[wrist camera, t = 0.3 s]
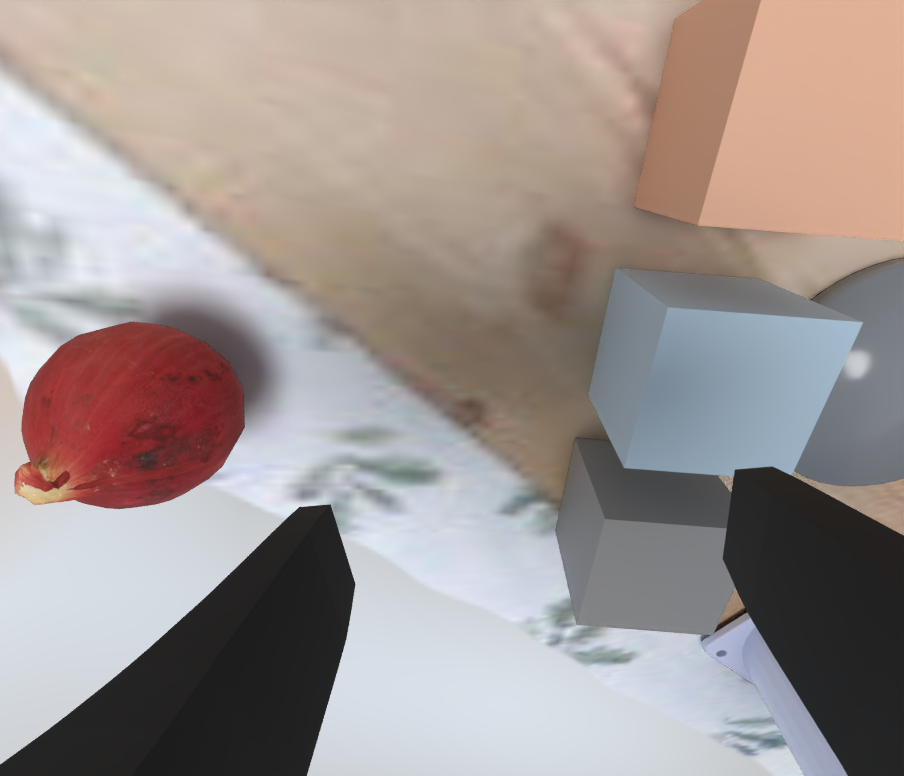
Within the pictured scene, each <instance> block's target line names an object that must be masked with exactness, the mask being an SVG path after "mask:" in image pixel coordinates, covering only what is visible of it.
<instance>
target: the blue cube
mask: <svg viewBox="0 0 904 776" xmlns="http://www.w3.org/2000/svg"><path fill="white" fill-rule="evenodd" d="M862 324H863V322H861V321H859V320H857V319H854V318H852V317H849V316H847V315H845V314H842V313H840V312H837V311H835V310H833V309H830V308H828V307H825V306H823V305H821V304H818V303H816V302H813V301H811V300H809V299H806V298H804V297H801V296H799V295H797V294H794V293H792V292H790V291H787V290H785V289H782V288H780V287H778V286H775V285H773V284H770V283H768V282H766V281H763V280H761V279H758V278H745V277H732V276H719V275H705V274H692V273H679V272H666V271H653V270H639V269H626V268H615V273H614V277H613V282H612V287H611V291H610V296H609V300H608V305H607V310H606V314H605V319H604V323H603V328H602V333H601V337H600V342H599V346H598V351H597V356H596V360H595V365H594V370H593V374H592V379H591V383H590V388H589V393H588V396H589V398H590V400H591V402H592V404H593V406H594V408H595V410H596V412H597V414H598V416H599V418H600V420H601V422H602V424H603V426H604V429H605V431H606V433H607V435H608V437H609V439H610V441H611V443H612V445H613V447H614V449H615V451H616V453H617V455H618V457H619V459H620V461H621V463H622V465H623V467H624V468H631V469H644V470H657V471H670V472H682V473H695V474H708V475H721V476H734V471H735V469H747V468H758V467H770V466H773V467H775V468H777V469H779V470H781V471H783V472H785V473H787V474H789V475H791V476H792V474H793V472H794V469H795V467H796V465H797V463H798V461H799V459H800V457H801V454H802V452H803V450H804V448H805V446H806V444H807V442H808V440H809V437H810V435H811V433H812V431H813V429H814V427H815V425H816V422H817V420H818V418H819V416H820V414H821V412H822V410H823V407H824V405H825V403H826V401H827V399H828V397H829V395H830V393H831V390H832V388H833V386H834V384H835V382H836V380H837V378H838V375H839V373H840V371H841V369H842V367H843V365H844V363H845V360H846V358H847V356H848V354H849V352H850V350H851V348H852V345H853V343H854V341H855V339H856V337H857V335H858V333H859V331H860V328H861V326H862Z"/></svg>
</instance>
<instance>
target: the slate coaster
mask: <svg viewBox="0 0 904 776" xmlns="http://www.w3.org/2000/svg"><path fill="white" fill-rule="evenodd" d="M811 301H813V302H816V303H818V304H821V305H823V306H825V307H828V308H830V309H833V310H835V311H837V312H840V313H842V314H845V315H847V316H849V317H852V318H854V319H857V320H859V321H861V322H863V324H862V326H861V328H860V331H859V333H858V335H857V337H856V339H855V341H854V343H853V345H852V348H851V350H850V352H849V354H848V356H847V358H846V360H845V363H844V365H843V367H842V369H841V371H840V373H839V375H838V378H837V380H836V382H835V384H834V386H833V388H832V390H831V393H830V395H829V397H828V399H827V401H826V403H825V405H824V407H823V410H822V412H821V414H820V416H819V418H818V420H817V422H816V425H815V427H814V429H813V431H812V433H811V435H810V437H809V440H808V442H807V444H806V446H805V448H804V450H803V452H802V454H801V457H800V459H799V461H798V463H797V465H796V467H795V469H794V471H795V472H797V473H799V474H801V475H803V476H805V477H807V478H809V479H812V480H815V481H818V482H821V483H826V484H831V485H839V486H867V485H876V484H882V483H887V482H891V481H896V480H899V479H903V478H904V258H900V259H894V260H891V261H887V262H884V263H880V264H877V265H874V266H871V267H869V268H866V269H863V270H861V271H858V272H856V273H854V274H852V275H850V276H848V277H846V278H844V279H842V280H840V281H838V282H837V283H835V284H834V285H832V286H831V287H829V288H827V289H826V290H824V291H823V292H821V293H820V294H819V295H817V296H816V297H815V298H813V299H812V300H811Z"/></svg>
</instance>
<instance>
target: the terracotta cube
mask: <svg viewBox="0 0 904 776" xmlns="http://www.w3.org/2000/svg"><path fill="white" fill-rule="evenodd" d="M633 207H636V208H640V209H643V210H647V211H650V212H653V213H657V214H660V215H664V216H667V217H670V218H674V219H677V220H681V221H684V222H688V223H691V224H694V225H698V226H711V227H724V228H738V229H751V230H764V231H777V232H791V233H804V234H817V235H830V236H843V237H857V238H870V239H883V240H896V241H904V0H703V1H702V2H700V3H699V4H697V5H696V6H694V7H693V8H691V9H690V10H688V11H687V12H685V13H684V14H682V15H681V16H680V17H678V18H677V19H675V21H674V25H673V30H672V34H671V39H670V44H669V48H668V53H667V57H666V62H665V66H664V71H663V75H662V80H661V84H660V89H659V93H658V98H657V102H656V107H655V111H654V116H653V120H652V125H651V129H650V134H649V138H648V143H647V147H646V152H645V157H644V161H643V166H642V170H641V175H640V179H639V184H638V188H637V193H636V197H635V202H634V206H633Z"/></svg>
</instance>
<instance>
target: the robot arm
mask: <svg viewBox="0 0 904 776" xmlns="http://www.w3.org/2000/svg"><path fill="white" fill-rule="evenodd" d="M723 561H724V563H725V565H726V568H727V570H728V572H729V574H730V576H731V579H732V581H733V583H734V585H735V588H736V590H737V592H738V594H739V596H740V598H741V600H742V602H743V604H744V606H745V608H746V610H747V613H745V614H744V615H742V616H740V617H739V618H737V619H736V620H734V621H732V622H731V623H729V624H728V625H726V626H724V627H723V628H721V629H720V630H718V631H716V632H715V633H714V634H713V635H710V636H709V637H707V638H705V639H704V640H703V642H702V647H703V649H704V651H705V652H706V653H707V654H708V655H710V656H711V657H713V658H715V659H716V660H718V661H719V662H721V663H722V664H724V665H725V666H727V667H728V668H730V669H731V670H733V671H734V672H736V673H738V674H739V675H741V676H742V677H744V678H745V679H747V680H748V681H750V682H751V683H753V684H754V685H756V687H757V689H758V691H759V693H760V695H761V697H762V698H763V700H764V702H765V704H766V706H767V708H768V710H769V711H770V713H771V715H772V717H773V719H774V721H775V722H776V724H777V726H778V728H779V730H780V732H781V734H782V735H783V737H784V739H785V741H786V743H787V745H788V747H789V748H790V750H791V752H792V754H793V756H794V758H795V760H796V761H797V763H798V765H799V767H800V769H801V771H802V773H803V774H804V776H904V536H903V535H901V534H900V533H898V532H896V531H894V530H892V529H890V528H888V527H886V526H885V525H883V524H881V523H879V522H877V521H875V520H873V519H872V518H870V517H868V516H866V515H864V514H862V513H860V512H859V511H857V510H855V509H853V508H851V507H849V506H848V505H846V504H844V503H842V502H840V501H838V500H837V499H835V498H833V497H831V496H829V495H827V494H825V493H824V492H822V491H820V490H818V489H816V488H814V487H812V486H811V485H809V484H807V483H805V482H803V481H801V480H799V479H797V478H795V477H793V476H791V475H789V474H787V473H785V472H783V471H781V470H779V469H777V468H775V467H773V466H770V467H758V468H747V469H735V471H734V479H733V486H732V493H731V500H730V508H729V515H728V522H727V530H726V537H725V544H724V551H723ZM354 589H355V581H354V578H353V575H352V572H351V569H350V566H349V562H348V559H347V556H346V553H345V549H344V546H343V543H342V540H341V537H340V533H339V530H338V527H337V524H336V521H335V517H334V514H333V511H332V508H331V505H319V506H308V507H299V508H298V509H297V510H296V511H295V512H293V513H292V514H291V515H290V516H289V517H288V518H287V519H286V520H285V521H284V522H283V523H282V524H281V525H280V526H279V527H278V528H276V530H275V531H273V532H272V533H271V534H270V536H268V537H267V538H266V539H265V540H264V541H263V542H262V543H261V544H260V545H259V546H258V547H257V548H256V549H255V550H254V551H253V552H252V553H251V554H250V555H249V556H248V557H247V558H246V559H245V560H244V561H243V562H242V563H241V564H240V565H239V566H238V567H237V568H236V569H235V570H234V571H233V572H231V573H230V575H228V576H227V577H226V578H225V579H224V580H223V581H222V582H221V583H220V584H219V585H218V586H217V587H216V588H215V589H214V590H213V591H212V592H211V593H210V594H209V595H208V596H206V598H204V599H203V600H202V601H201V602H200V603H199V604H198V605H197V606H195V607H194V608H193V609H192V610H191V611H190V612H189V613H188V614H187V615H186V616H185V617H183V618H182V619H181V620H180V621H179V622H178V623H177V624H175V625H174V626H173V627H172V628H171V629H170V630H169V631H168V632H167V633H166V634H165V635H163V636H162V637H161V638H160V639H159V640H158V641H157V642H155V643H154V644H153V645H152V646H151V647H150V648H149V649H148V650H147V651H145V652H144V653H143V654H142V655H141V656H140V657H138V658H137V659H136V660H135V661H134V662H133V663H131V664H130V665H129V666H128V667H127V668H125V669H124V670H123V671H122V672H121V673H119V674H118V675H117V676H116V677H114V678H113V679H112V680H111V681H110V682H108V683H107V684H106V685H105V686H104V687H102V688H101V689H100V690H98V691H97V692H96V693H95V694H93V695H92V696H91V697H90V698H88V699H87V700H86V701H85V702H83V703H82V704H81V705H80V706H78V707H77V708H76V709H74V710H73V711H72V712H71V713H70V714H68V715H67V716H66V717H64V718H63V719H62V720H60V721H59V722H58V723H56V724H55V725H54V726H53V727H51V728H50V729H49V730H47V731H46V732H45V733H43V734H42V735H40V736H39V737H38V738H36V739H35V740H34V741H32V742H31V743H29V744H28V745H27V746H25V747H24V748H23V749H21V750H20V751H18V752H17V753H16V754H14V755H13V756H12V757H10V758H9V759H7V760H6V761H5V762H3V763H2V764H0V776H307V773H308V769H309V766H310V762H311V759H312V756H313V752H314V749H315V746H316V742H317V739H318V735H319V732H320V728H321V725H322V722H323V718H324V715H325V711H326V708H327V705H328V701H329V698H330V694H331V691H332V688H333V684H334V681H335V677H336V673H337V670H338V667H339V663H340V659H341V656H342V652H343V649H344V645H345V641H346V637H347V632H348V626H349V621H350V615H351V609H352V602H353V596H354Z"/></svg>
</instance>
